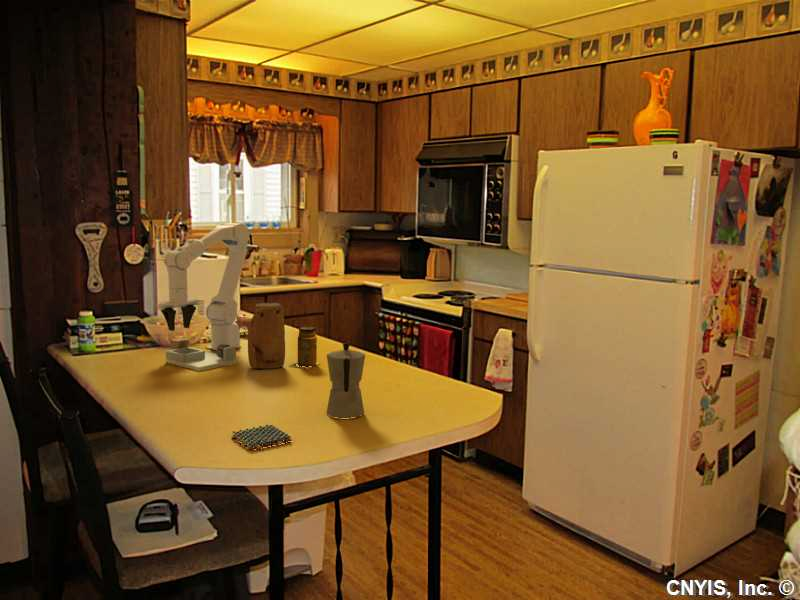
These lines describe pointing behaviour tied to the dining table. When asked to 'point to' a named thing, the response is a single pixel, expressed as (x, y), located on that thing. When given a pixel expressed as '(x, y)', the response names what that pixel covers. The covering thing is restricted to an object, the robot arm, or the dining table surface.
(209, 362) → the chassis
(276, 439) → the woven mat
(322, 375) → the dining table surface
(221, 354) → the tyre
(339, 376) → the coffeepot
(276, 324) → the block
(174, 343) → the walnut block
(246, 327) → the bull figurine
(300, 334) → the condiment
